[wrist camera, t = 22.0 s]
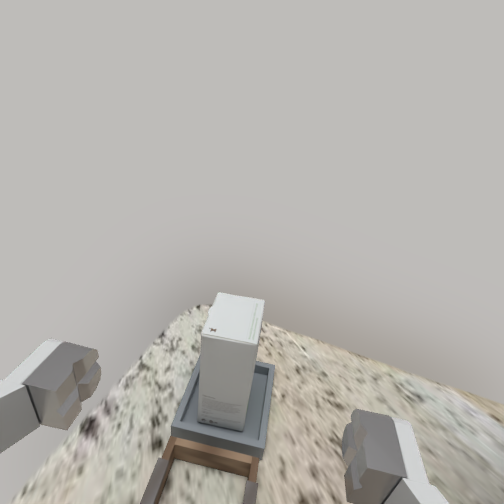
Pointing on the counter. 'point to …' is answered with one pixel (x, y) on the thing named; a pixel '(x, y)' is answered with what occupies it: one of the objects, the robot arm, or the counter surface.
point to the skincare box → (228, 359)
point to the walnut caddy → (204, 457)
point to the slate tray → (225, 438)
